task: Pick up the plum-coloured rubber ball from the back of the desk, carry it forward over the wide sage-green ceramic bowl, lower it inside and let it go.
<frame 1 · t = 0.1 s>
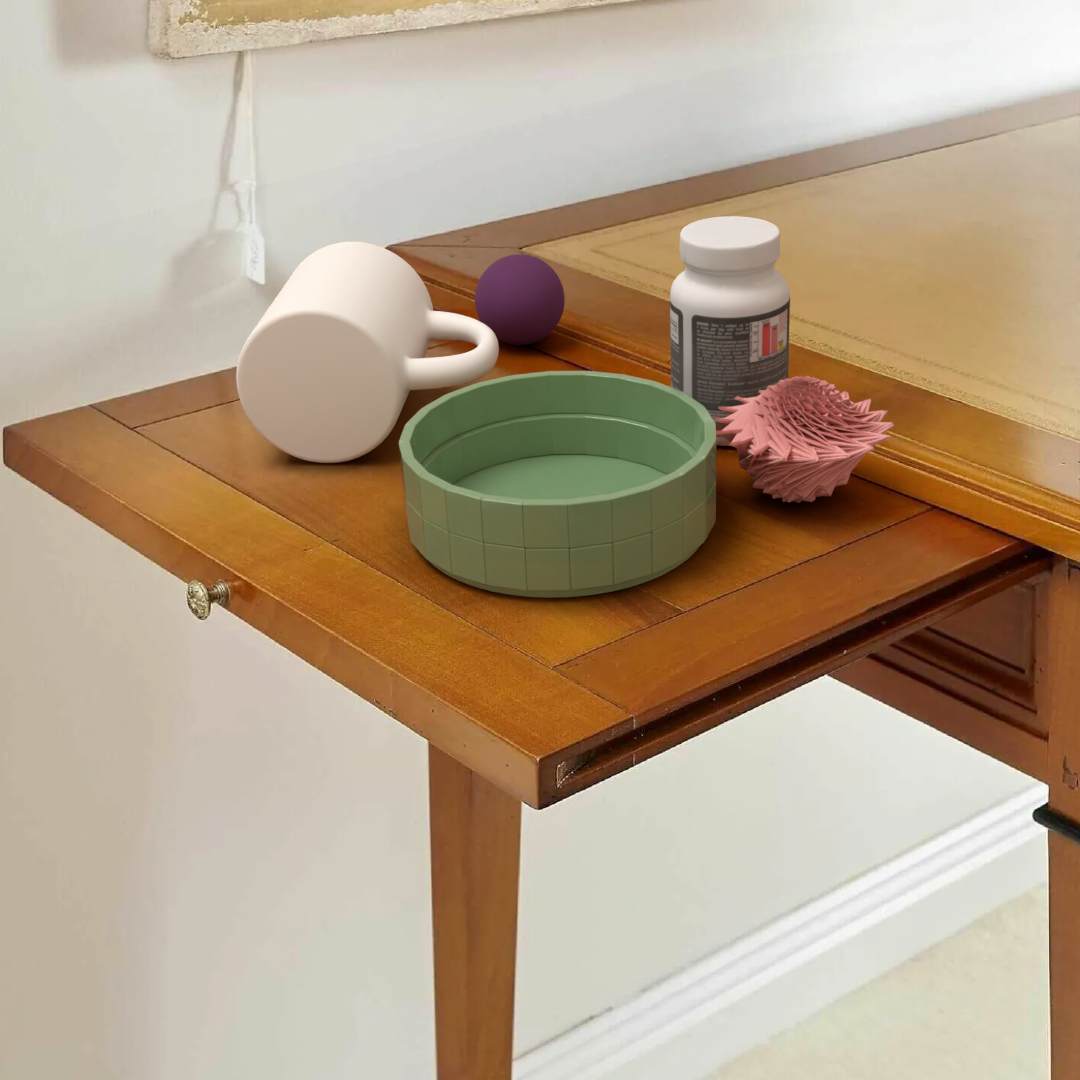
ball: (522, 341, 92), on the table
pill bottle: (728, 429, 81), on the table
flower: (799, 497, 74), on the table
mug: (387, 425, 83), on the table
bowl: (561, 523, 72), on the table
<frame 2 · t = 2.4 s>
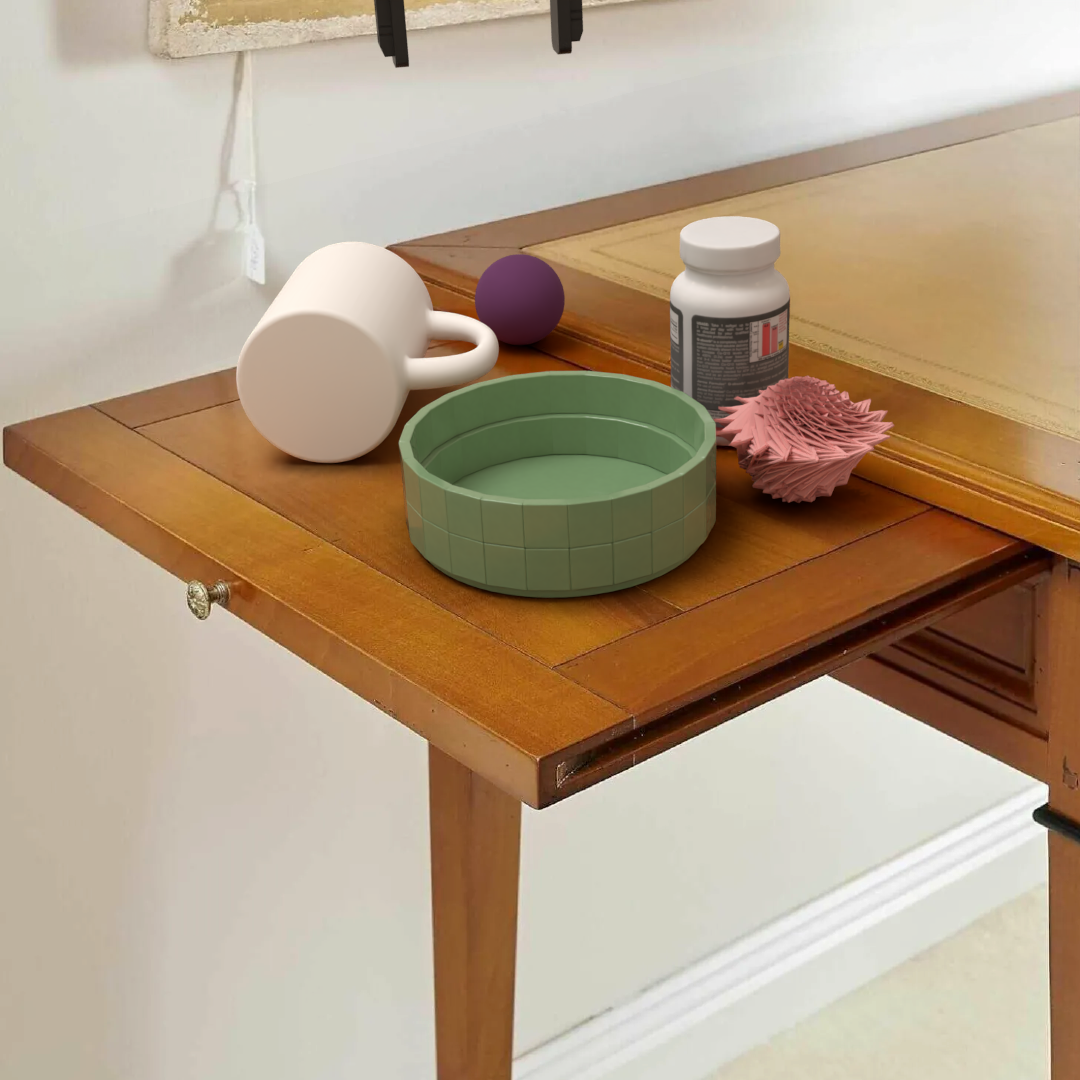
hand: (482, 57, 85), 16 cm above the table, tool pointing down, fingers open, 8 cm apart
nothing on the table moved.
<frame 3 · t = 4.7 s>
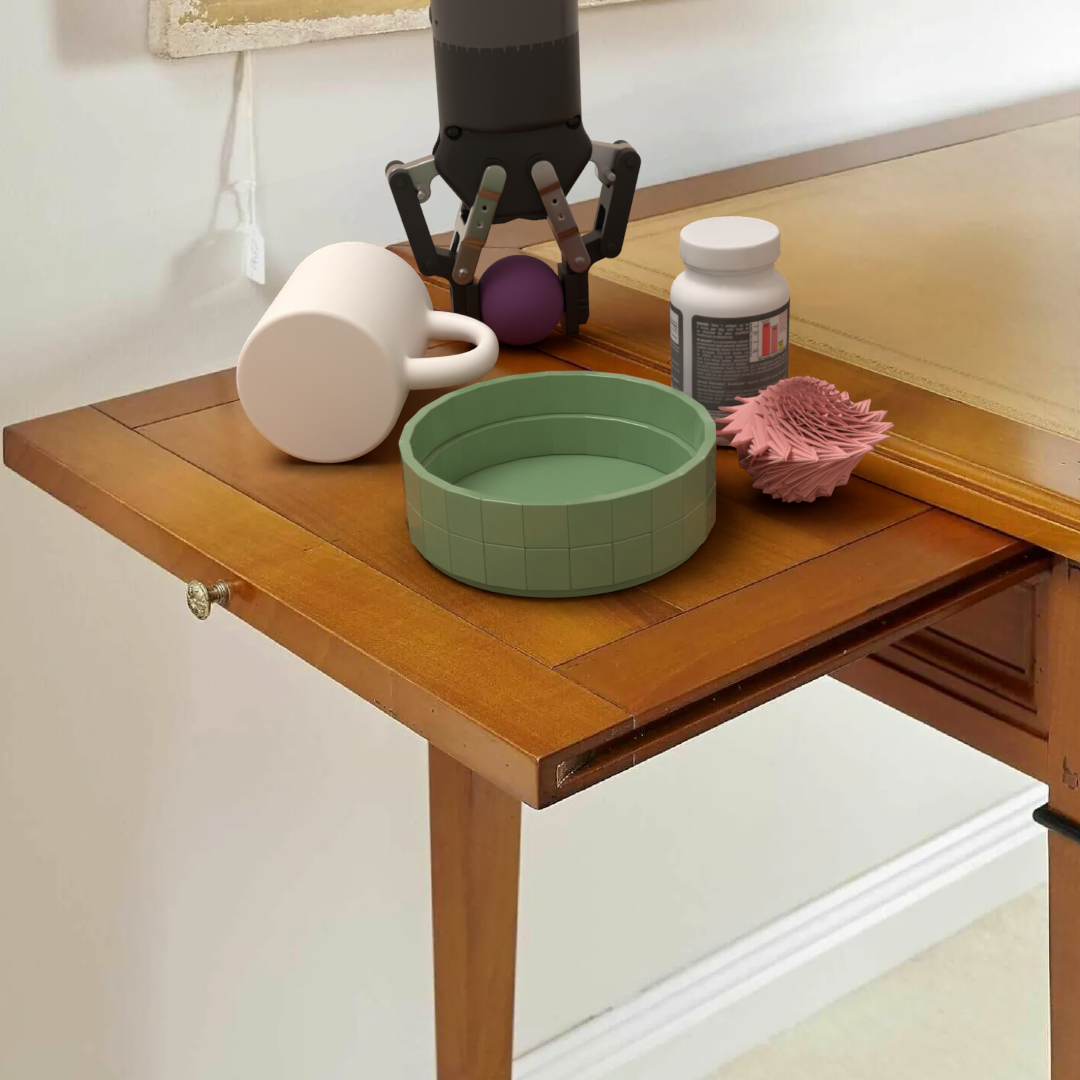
hand: (522, 334, 92), 0 cm above the table, tool pointing down, fingers closed on ball, 5 cm apart
ball: (522, 342, 92), on the table, touching gripper
everything else where it was.
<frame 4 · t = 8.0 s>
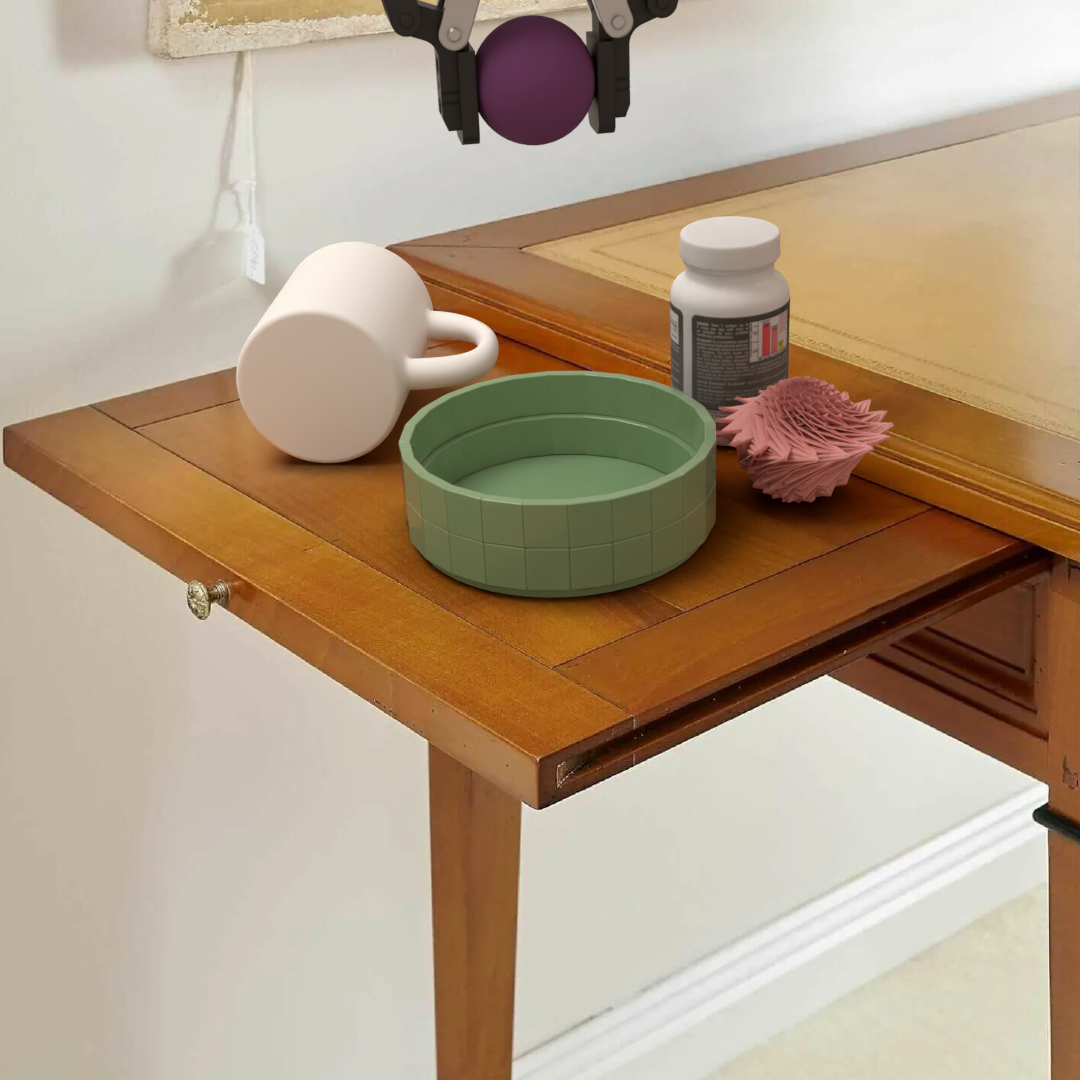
hand: (536, 132, 66), 17 cm above the table, tool pointing down, fingers closed on ball, 5 cm apart
ball: (535, 143, 66), point 17 cm above the table, touching gripper
everything else where it was.
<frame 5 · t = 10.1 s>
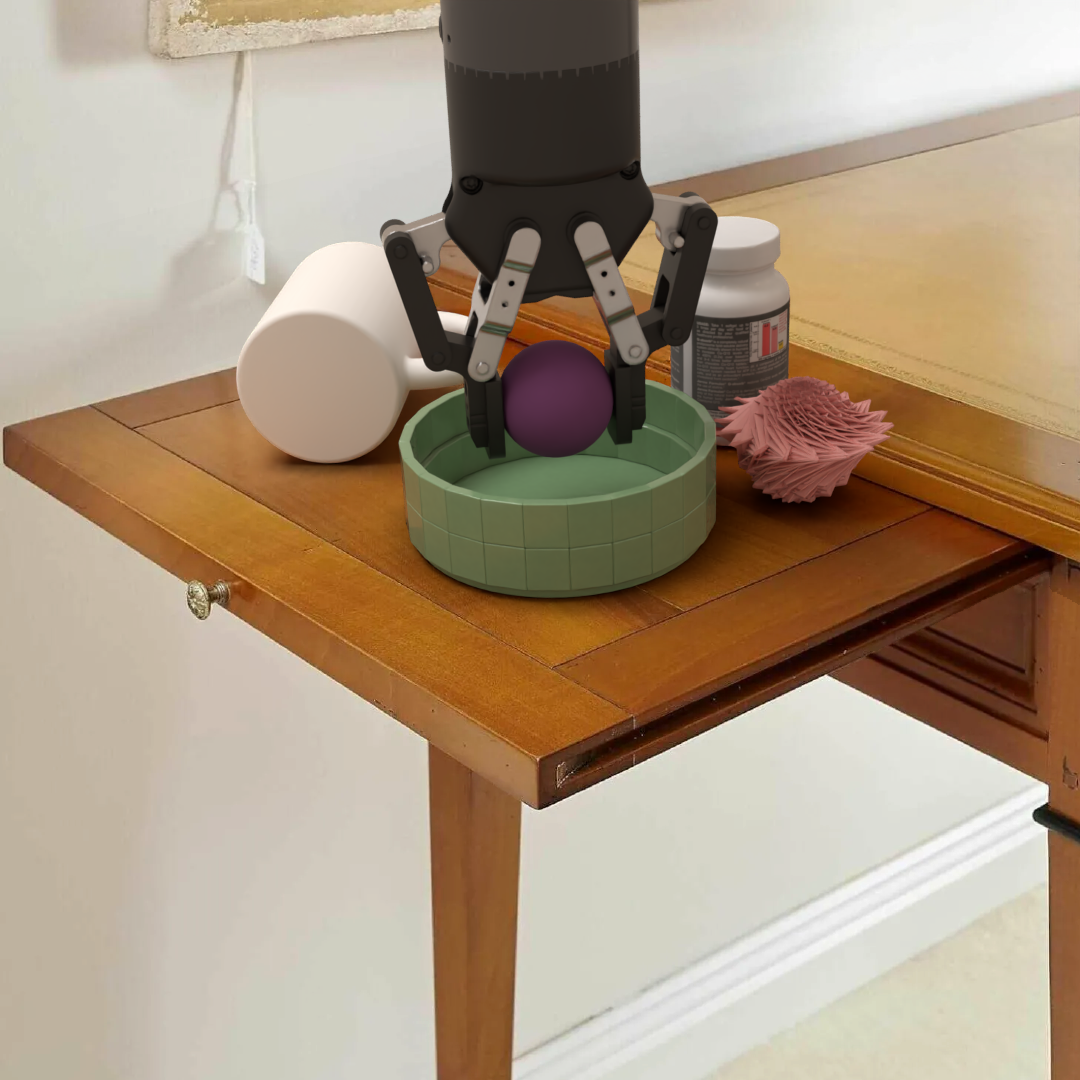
hand: (557, 442, 70), 4 cm above the table, tool pointing down, fingers closed on ball, 5 cm apart
ball: (557, 452, 71), point 4 cm above the table, touching gripper
everything else where it was.
when the fingers open (1 cm above the table, at t = 11.5 s): ball stays where it is, resting on bowl.
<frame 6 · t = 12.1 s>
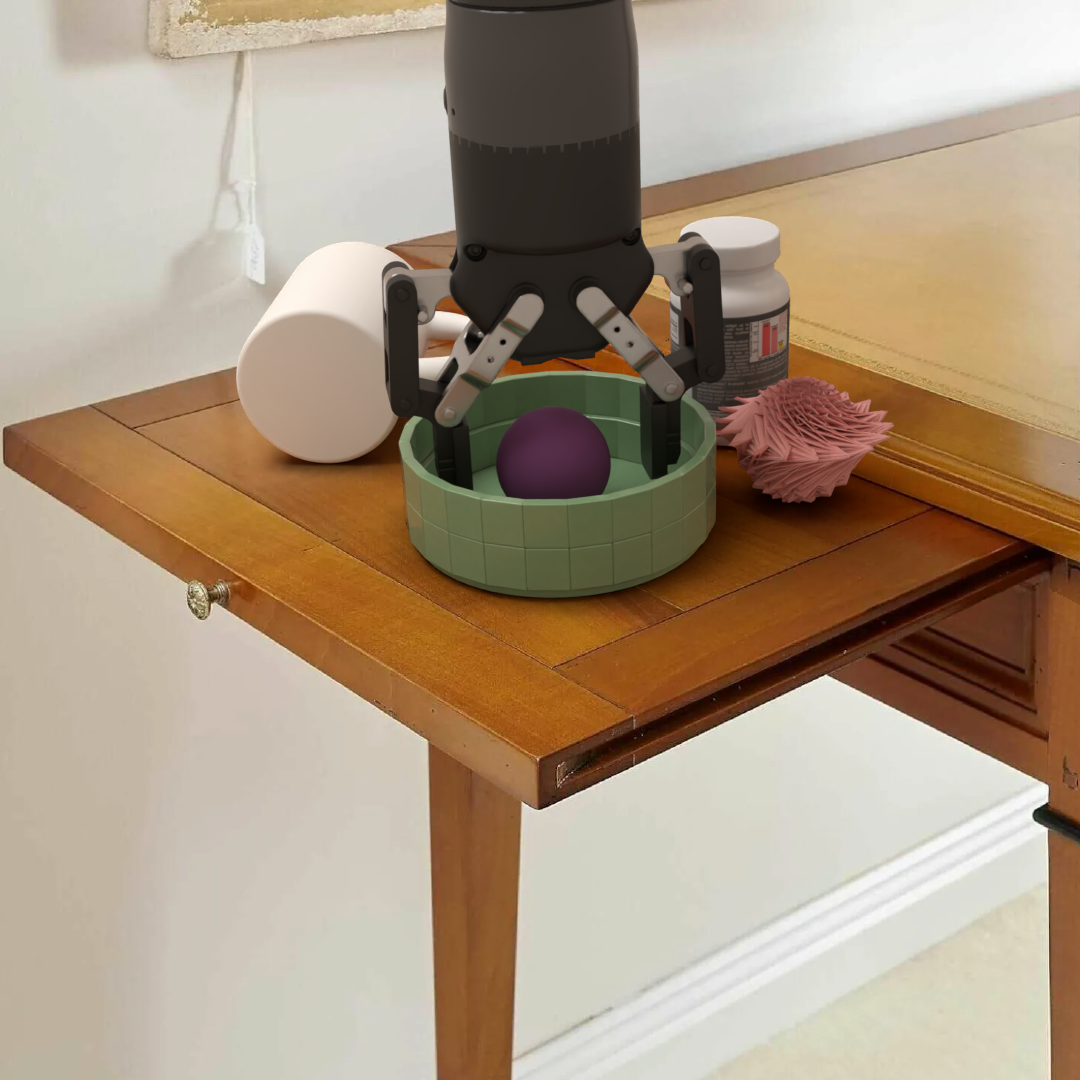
hand: (559, 483, 72), 2 cm above the table, tool pointing down, fingers open, 8 cm apart
ball: (560, 514, 72), point 1 cm above the table, touching bowl
everything else where it was.
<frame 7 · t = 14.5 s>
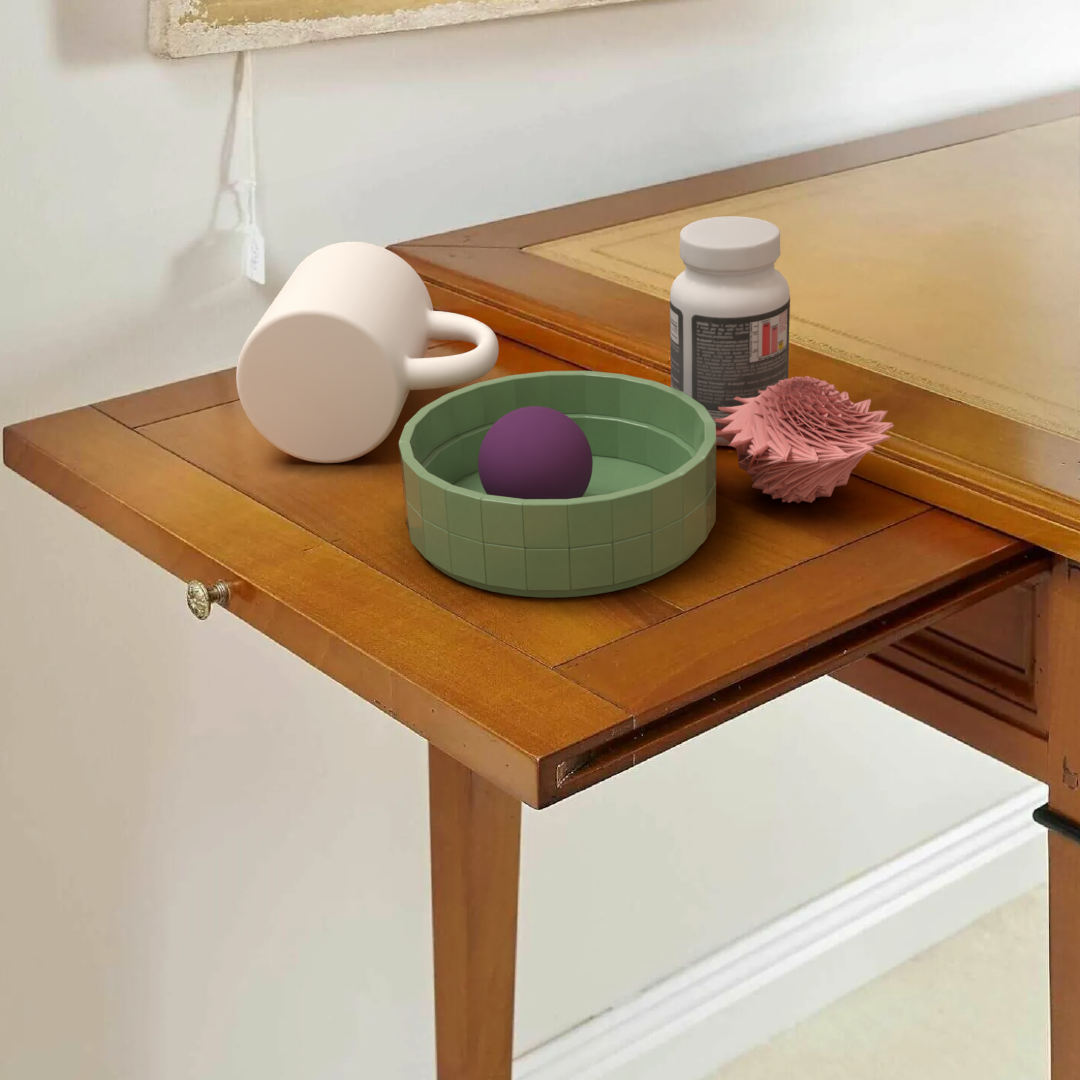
ball: (559, 510, 72), point 1 cm above the table, tilted 23°, touching bowl
everything else where it was.
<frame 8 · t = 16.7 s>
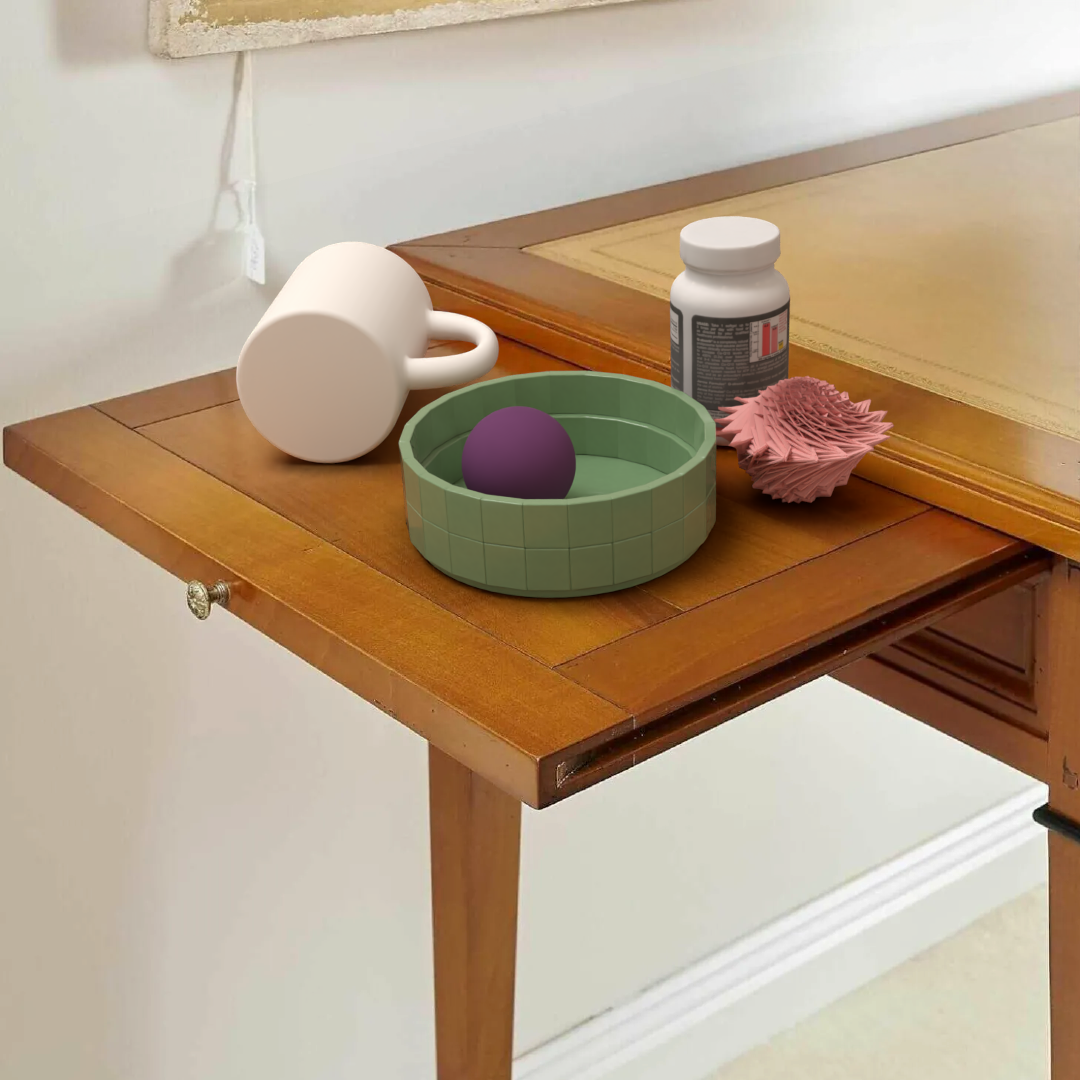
ball: (556, 503, 72), point 1 cm above the table, tilted 39°, touching bowl
everything else where it was.
at the end: ball inside the target area in the bowl (0.2 cm from its centre), point 1.1 cm above the bowl's base; the gripper is holding nothing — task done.
